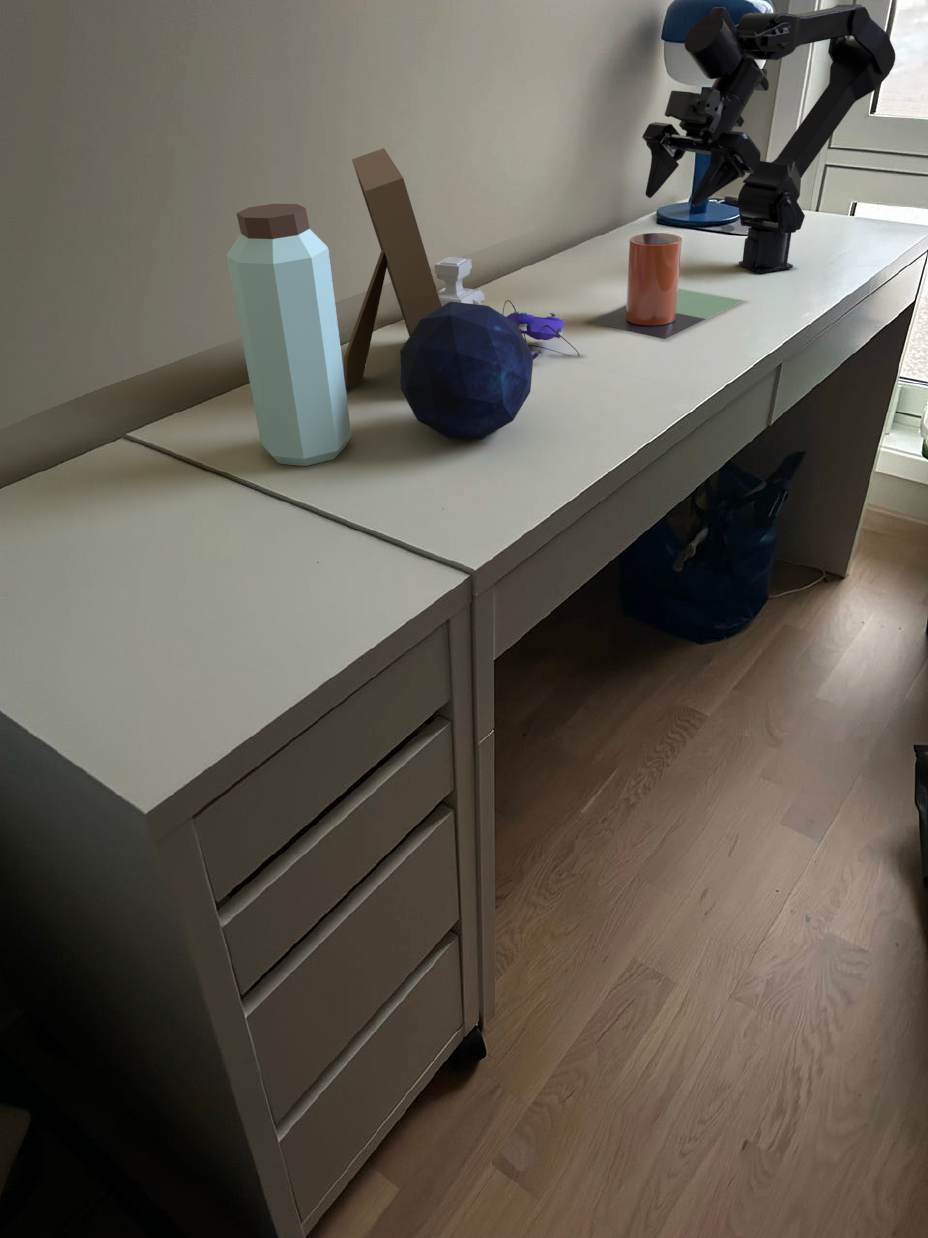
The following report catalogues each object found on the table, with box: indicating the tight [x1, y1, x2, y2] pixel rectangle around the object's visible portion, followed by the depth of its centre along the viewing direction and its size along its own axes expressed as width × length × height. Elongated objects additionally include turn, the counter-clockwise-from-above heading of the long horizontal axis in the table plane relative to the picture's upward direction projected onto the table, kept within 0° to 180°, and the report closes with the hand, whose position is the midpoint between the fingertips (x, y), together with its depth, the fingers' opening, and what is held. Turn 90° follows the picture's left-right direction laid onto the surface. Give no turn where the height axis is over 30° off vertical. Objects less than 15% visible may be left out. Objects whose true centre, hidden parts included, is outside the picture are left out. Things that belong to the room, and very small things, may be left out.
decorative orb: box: [399, 302, 534, 441], centre depth 103 cm, size 14×15×15 cm
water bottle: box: [226, 203, 352, 467], centre depth 98 cm, size 10×10×25 cm
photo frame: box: [343, 147, 442, 391], centre depth 118 cm, size 15×22×25 cm
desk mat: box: [588, 288, 743, 340], centre depth 139 cm, size 21×13×1 cm, turn 137°
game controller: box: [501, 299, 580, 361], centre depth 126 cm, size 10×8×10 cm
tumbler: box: [625, 232, 683, 326], centre depth 133 cm, size 7×7×11 cm
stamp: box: [434, 256, 486, 306], centre depth 139 cm, size 9×7×8 cm
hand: (669, 200), depth 138 cm, fingers open, 9 cm apart
